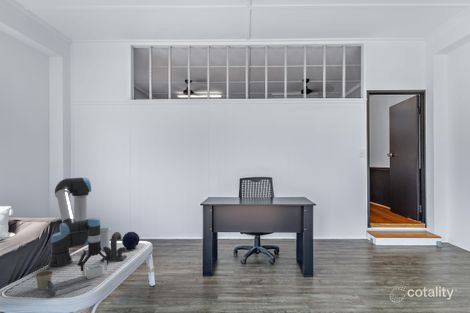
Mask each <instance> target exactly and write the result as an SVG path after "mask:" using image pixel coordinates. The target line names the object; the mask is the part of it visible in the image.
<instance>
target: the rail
mask: <svg viewBox="0 0 470 313" xmlns="http://www.w3.org/2000/svg"><path fill="white" fill-rule="evenodd" d="M84 280H86V275H85V276H83V275H82V276H79V277H75V278H71V279H68V280H63V281H61V282H60V281H59V282H57V283H53V282H52V280H51V281H50V280H49V281H48V288H47V290H48V291H49V293H50V294H51V295H52V296H53V297H56V296H59V295H62V294H65V293H68V292H69V293H70V292H72V291H75V290H79V289H82V288H85V287H89V286H91V285H92V286H93V281H87V282H83V283H80V284H76V285H72V286H69V287H67V288H63V289H59V290H56V288H59V287H62V286H63V287H64V286H65V285H69V284H73V283H76V282H77V283H78V282H80V281H84Z"/></svg>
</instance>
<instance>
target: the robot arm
mask: <svg viewBox="0 0 470 313" xmlns="http://www.w3.org/2000/svg"><path fill="white" fill-rule="evenodd" d="M91 192H92V184H91V181H90V179H89V178H88V177H72V178H71V177H70V178H64V179H62V180H60V181H59V182H58V183H57V184H56V186H55V188H54V197H55V198H56V199H57V203H58V204H57V205H58V208H59V213H60V218H61V222H62V223H60V224H59V232H55V233H53V234H52V235H51V237H50V244H51V245H50V252H51V253H50V258H49V261H48V267H49V268H59V267H60V268H61V267H64V266H67V265H71V263H72V262H73V258H72V256H71V253H70V249H73V248H78V247H83V246H87V245H88V248H87V250H85V249H84V250H82V255H81V256H80V259H79V260H78V262H77V264H76V265H77V266H78V267H80V271H81V272H82V273H81V274H82V276H85V277H86V263H87V262H88V260H89V259H90V258H91V257H94V256H98V255H99V256H101V257H102V258H104V259H106V260H104V261H103V264H104V265H103V266H104V267H103V271H108V265H109V261H108V260H109V259H111V257H110V255H109V254H108V252H107V250H106V247H105V246H103V247H101V241H100V228H101V219H100V217H90V218H87V197H88V196H89V195H90V193H91ZM70 194H71V196H72V197H73V206H72V202H71V198H70ZM101 249H102V250H103V251H101ZM102 252H104V254H103V253H102ZM86 254H87V255H86ZM106 255H107V257H106Z"/></svg>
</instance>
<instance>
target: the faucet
mask: <svg viewBox="0 0 470 313" xmlns="http://www.w3.org/2000/svg"><path fill="white" fill-rule="evenodd" d="M122 238H123V237H122V235H121V233H120V232H118V231H115V232H114V233H113V234H112V235H111V237H110V246H109V247H106V250H107V252H108V254H109V255H110V257H111V259H109V260H108V262H123V261H124V260H126V259H127V258H128V256H127V255H126V254H124V255H123V253H122V252H126V251H127V248H126V247H124V246H121V247H119V248H118V246H117V244H118V241H120V240H121V241H122ZM105 256H106V257H107V255H106V254H105ZM104 260H106V259H104V258H103V257H102V258H101V259H100V262H104Z"/></svg>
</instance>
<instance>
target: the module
mask: <svg viewBox="0 0 470 313" xmlns="http://www.w3.org/2000/svg"><path fill="white" fill-rule="evenodd" d="M103 271H104V267H103V265H101V264H96V265H92V266H87V267H86V266H85V278H87V280H90V279H95V278H98V277H101V276H103V274H104V272H103Z"/></svg>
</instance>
